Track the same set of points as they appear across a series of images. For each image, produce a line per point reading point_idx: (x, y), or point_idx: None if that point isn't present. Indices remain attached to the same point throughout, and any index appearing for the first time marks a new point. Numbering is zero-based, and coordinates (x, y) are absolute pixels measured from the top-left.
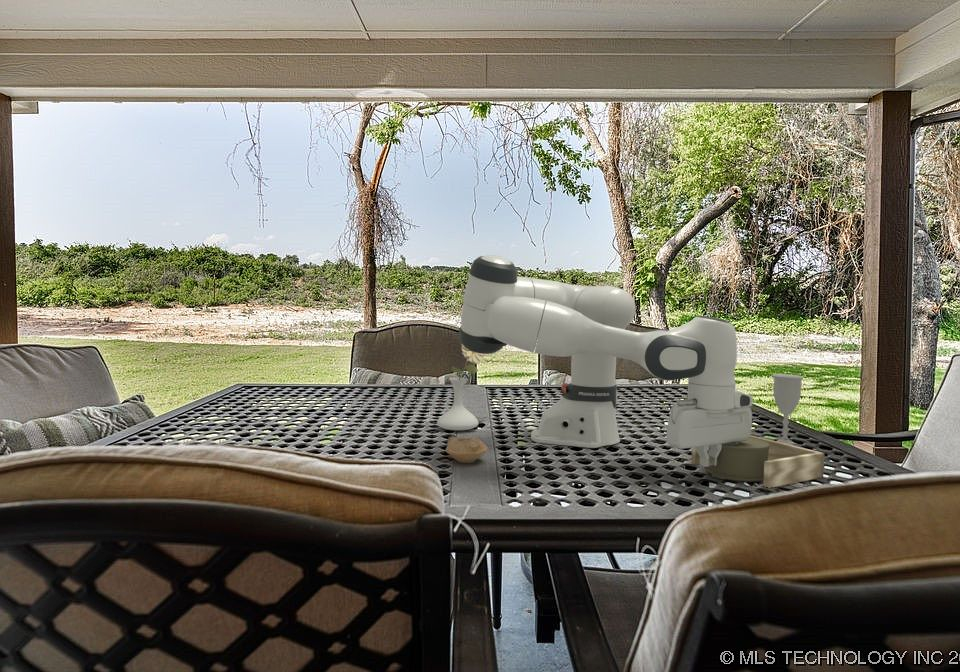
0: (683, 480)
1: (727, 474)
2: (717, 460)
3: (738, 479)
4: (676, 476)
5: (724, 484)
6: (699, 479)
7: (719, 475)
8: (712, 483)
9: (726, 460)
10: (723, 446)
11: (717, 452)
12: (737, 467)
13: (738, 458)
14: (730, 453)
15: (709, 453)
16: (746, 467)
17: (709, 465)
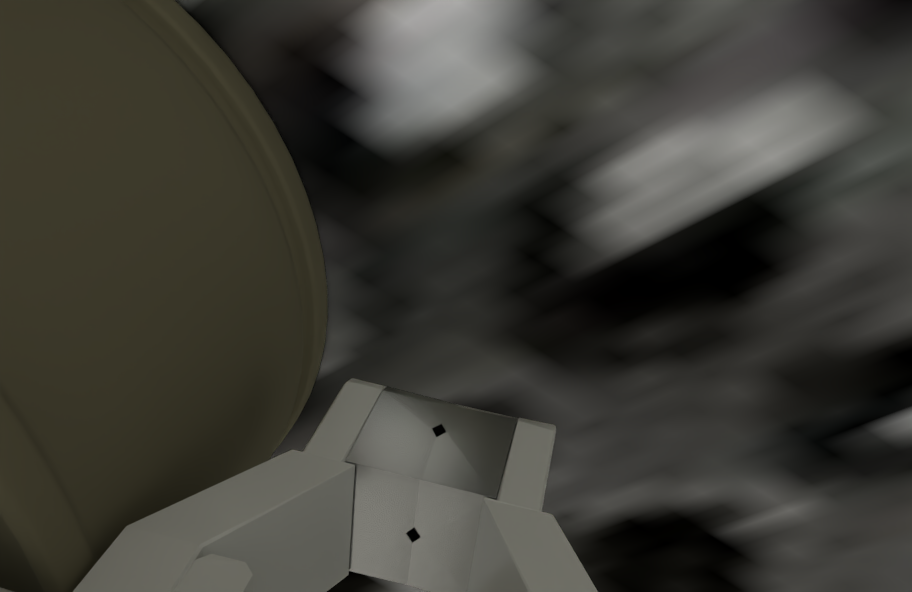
0: (799, 465)
1: (276, 209)
2: (236, 433)
3: (222, 66)
4: (709, 563)
5: (521, 88)
6: (597, 377)
7: (319, 289)
8: (618, 207)
9: (186, 324)
10: (70, 542)
11: (262, 509)
12: (142, 129)
13: (29, 171)
14: (72, 341)
15: (317, 583)
16: (23, 19)
17: (492, 415)
